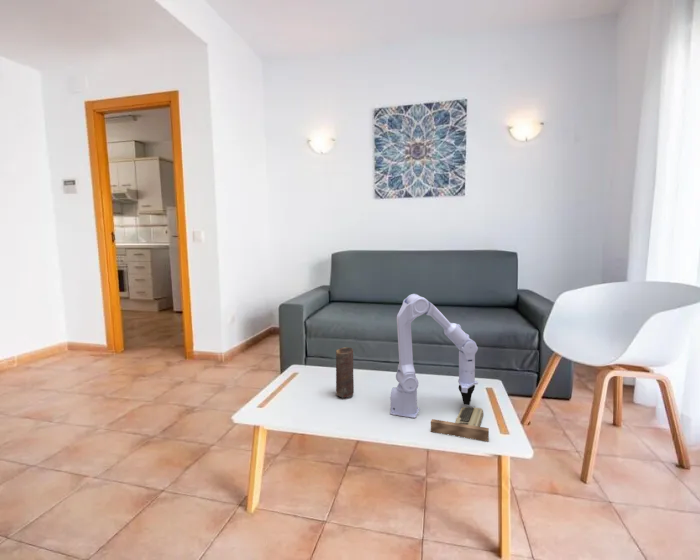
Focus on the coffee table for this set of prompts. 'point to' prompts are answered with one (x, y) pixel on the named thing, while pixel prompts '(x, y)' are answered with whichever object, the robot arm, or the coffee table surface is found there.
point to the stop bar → (460, 430)
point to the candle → (344, 372)
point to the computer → (470, 416)
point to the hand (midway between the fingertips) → (466, 404)
